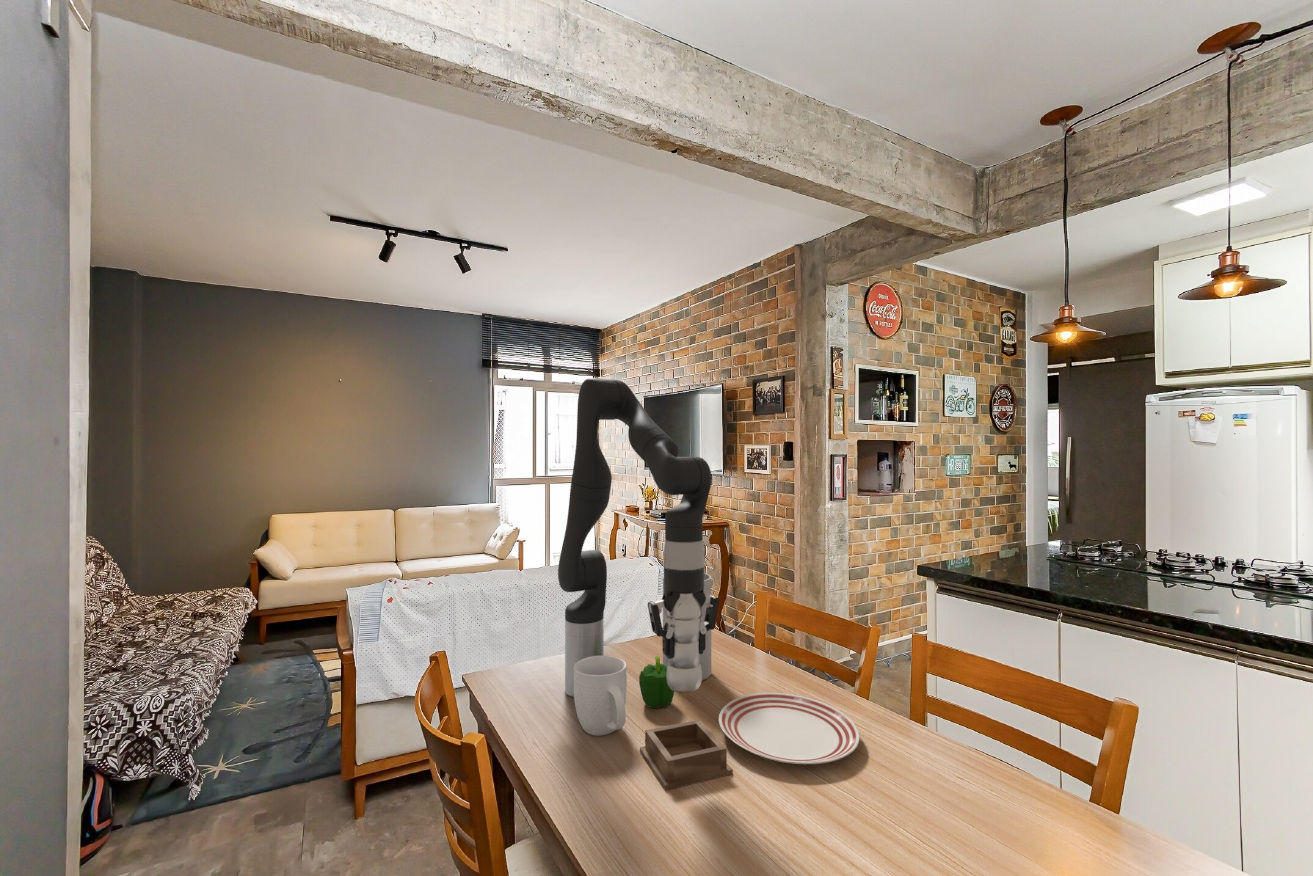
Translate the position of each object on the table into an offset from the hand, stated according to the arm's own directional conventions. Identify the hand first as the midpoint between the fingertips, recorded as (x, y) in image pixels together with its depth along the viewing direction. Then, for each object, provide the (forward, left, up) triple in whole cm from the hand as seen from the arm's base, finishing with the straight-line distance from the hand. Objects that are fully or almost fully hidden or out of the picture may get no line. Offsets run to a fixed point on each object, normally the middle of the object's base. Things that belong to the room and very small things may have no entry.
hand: (684, 654), depth 104 cm
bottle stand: (0, 0, -20) cm, 20 cm away
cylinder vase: (-37, +17, -20) cm, 45 cm away
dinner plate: (-1, +23, -20) cm, 31 cm away
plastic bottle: (0, 0, -7) cm, 7 cm away
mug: (-17, -11, -20) cm, 28 cm away
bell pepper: (-24, +4, -20) cm, 31 cm away
